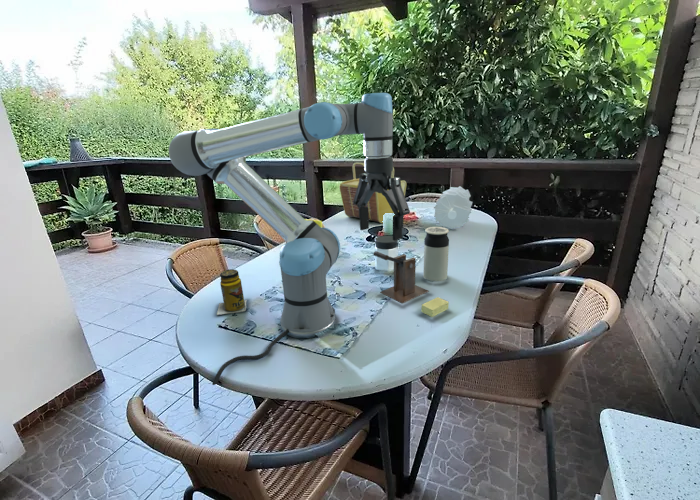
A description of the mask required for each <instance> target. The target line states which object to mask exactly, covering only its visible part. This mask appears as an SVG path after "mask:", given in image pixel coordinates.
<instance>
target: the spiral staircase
mask: <svg viewBox="0 0 700 500" xmlns="http://www.w3.org/2000/svg"><path fill="white" fill-rule="evenodd" d="M471 196H472V195H471V192H470V191H469V189H465V188H463V187H462V186H461V185H459V186H458V187H455V186H450V187H449V189H446V190H444V191H442V193H441V195H440V196H439V198H438V200H437V201H436V202H435V206H433V209H434V215H433V217H434V218H435V222H436V223H438V224H439V225H440V226H441V227H443V228H447V229H451V230H454V229H459V228H463V227H464V225H465V224H466V223H468V222H469V221H470V215H471V213H472V211H473V210H472V205H473V203H474V202H473V201H471V200H470V198H471Z"/></svg>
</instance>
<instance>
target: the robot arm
mask: <svg viewBox="0 0 700 500" xmlns="http://www.w3.org/2000/svg"><path fill="white" fill-rule="evenodd" d="M393 115H394V110H393V97H392V96H391V94H390V93H388V92H372V93H364V94H362V97H361V102H356V103H331V102H327V101H319V102H316V103H313V104H311V106H307V107H304V108H299V109H298V108H297V109H294V110H291V111H288V112H284V113H279V114H275V115H271V116H268V117H264V118H263V117H262V118H260V119H256V120H251V121H248V122H244V123H240V124H236V125H233V126H229V127H225V128H224V127H223V128H220V129H219V128H207V129H199V130H198V129H197V130H185V131H182V132H180V133H178V134H176V135H175V136H174V137H173V138H172V139H171V141H170V143H169V146H168V155H169V159H170V162H171V163H172V165H173V166H174V168H176V170H178V171H179V172H181V173H182V174H184V175H187V176H193V177H197V176H203V175H207V176H208V177H209V178H210V179H211V180H213V181H214V182H215V184H217V185H226V187H228V188H229V190H230V191H232V193H234V194H235V195H236V196H237V197H238V198H239V199H241V200H242V201H243V202H244V204H246V206H248V207H249V208H250V209H251V210H252V211H253V212H254V213H255V214H257V215H258V216H259V218H261V220H263V221H264V222H265V223H266V224H267V225H268V226H269V227H270V228H272V230H273V231H275V232H276V233H277V234H278V236H280V237H281V239H283V240H284V241H285V244H284V245H282V247H281V248H280V251H279V262H278V263H279V267H280V274H281V282H282V283H281V284H282V290H283V299H284V303H283V307H282V312H281V316H280V320H279V321H280V328H281V329H280V330H281V331H282V332H281V333H280V334H279V335H278V336H276V337H275V338H274V339H273V340H272V341H271V342H270V343H269V344H268V346H267V347H266V349H265V350H264V351H263V352H262V353H259V354H257V355H256V354H255V355H237V356H235V357H233V358H231V359H229V360H227V361H226V362H224V363H223V364H222V365H221V366H220V367H219V369H218V371H217V372H216V374H215V376H214V378H213V381H212V383H211V385H212V386H215V385H217V384H218V382H219V380H220V378H221V375H222V374H223V372H224V370H225V369H226V368H228V366H230V365H232V364H234V363H237V362H239V361H256V360H260V359H263V358H265V357H266V356H268V355H269V353H270V351H271V350H272V348H273V347H274V346H275V345H276V344H277V343H278V342H279V341H280V340H281V339H283V338H284V337H286V336H289V337H291V338H295V339H312V338H317V337H318V335H317V334H319V333H322V332H324V331H327V330H328V329H329V328H331V327H332V326H333V325H334V323H335V322H336V309H335V308H334V307H333V305H332V304H331V302H330V299H329V297H328V290H327V287H328V286H327V274H328V273H329V272H330V270H331V268H332V267H333V265H334V264H335V263H336V262H337V261H338V258H339V257H340V252H341V243H340V240H339V237H338V235H337V234H336V233H335V231H333V230H331V229H329V228H328V227H325V228H322V227H320V226H319V225H318V224H316V223H315V222H314V221H313V220H305V219H306V218H304V217H303V215H301V214H300V213H299V212H298V211H297V210H296V209H295V208H294V207H293V206H292V205H290V203H288V201H286V200H285V199H284V197H282V196H281V195H280V194H279V193H278V192H277V191H276V190H275V189H274V188H273V187H271V185H269V183H267V182H266V181H265V180H264V178H263V177H261V176H260V175H259V174H258V173H257V172H256V171H255V170H254V169H253V168H252V167H250V165H248V163H247V157H252V156H255V155H260V154H264V153H269V152H273V151H277V150H281V149H287V148H289V147H295V146H298V145H299V146H300V145H302V144H303V145H304V144H308V143H312V142H313V143H314V142H316V141H317V142H318V141H321V140H328V139H331V138H334V137H338V136H346V135H362V134H363V156H364V157H365V158H364V161H363V163H364V165H365V167H364V173H360V174H359V175H358V178H359V183H358V187H357V190H356V194H355V197H354V200H353V204H354V205H357V207H358V209H359V218H358V219H359V230H360V231H364V230H368V229H370V225H369V224H370V223H369V221H370V220H368V207H365V206H368V205H367V203H368V201H369V200H370V198H371V196H372V195H373V193H374V192H378V193H382V195H383V196H385V198H386V200H387V202H388V203H389V205H390V207H391V209H392V211H393V212H394V214H395V215H394V216H393V220H392V236H393V240H394V241H395V240H397V241H398V240H401V239H403V228H404V216H406V215H409V214H410V213H411V211H410V207H409V205H408V202H407V199H406V195H405V196H404V193H403V190H402V187H401V181H402V179H401V177H400V176H396V177H395V176H394V178H391V175H392V171H393V167H394V158H393V156H392V155H393V153H394V151H393V149H394V148H393V147H394V145H393V144H394V143H393V141H394V140H393V134H394V133H393V126H394V125H393V124H394V123H393V122H394V119H393V117H394V116H393ZM367 184H368V185H367ZM358 199H359V200H358ZM398 211H399V212H398Z"/></svg>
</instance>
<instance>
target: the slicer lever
mask: <svg viewBox="0 0 700 500" xmlns="http://www.w3.org/2000/svg"><path fill="white" fill-rule="evenodd" d="M372 254H373V257H375V256H376V257H379V258H381V259H384V260H390V261H393V262H397V263H399V264H398V265H399V266H401V267H403V261H405V260H407V258H406V259H403V258H400V260H398V259H395V258H392V257H389V256H388V255H385V254H382V253H380V252H377V251H375V250H374V251H373V253H372Z"/></svg>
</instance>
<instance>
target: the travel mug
mask: <svg viewBox="0 0 700 500" xmlns="http://www.w3.org/2000/svg"><path fill="white" fill-rule="evenodd" d="M424 231H425V233H426V235H425V237H424V241H423V273H422V274H423V275H422V277H423V278H424V279H425V280H426V281H430V282H438V283H439V282H444V281H446V280H447V279H448V271H449V269H448V268H449V249H450V239H449V236H448V233H449V232H450V231H449V228H447V227H444V228H443V226H429V227H427V228H425V230H424Z"/></svg>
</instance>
